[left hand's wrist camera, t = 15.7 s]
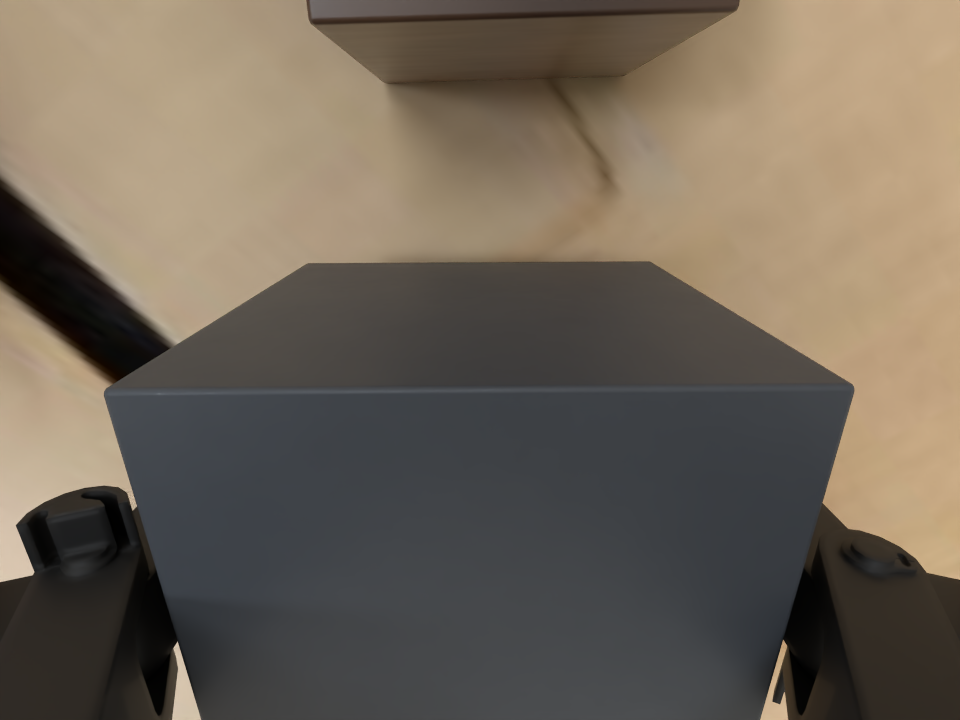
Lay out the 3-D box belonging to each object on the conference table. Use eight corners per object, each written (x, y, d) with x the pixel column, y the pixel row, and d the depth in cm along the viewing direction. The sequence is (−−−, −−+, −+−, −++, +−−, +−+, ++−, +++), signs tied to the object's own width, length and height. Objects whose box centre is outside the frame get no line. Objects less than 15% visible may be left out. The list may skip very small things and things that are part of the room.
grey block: (341, 540, 15) (234, 839, 8) (305, 262, 12) (99, 389, 5) (618, 538, 15) (728, 836, 8) (651, 261, 12) (860, 384, 5)
